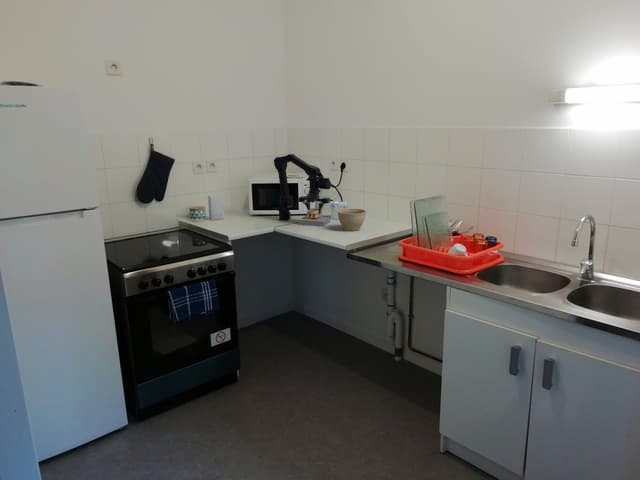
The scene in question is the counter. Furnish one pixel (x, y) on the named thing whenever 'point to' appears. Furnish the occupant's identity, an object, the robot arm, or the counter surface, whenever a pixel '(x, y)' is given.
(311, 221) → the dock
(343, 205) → the light bulb box
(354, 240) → the counter surface
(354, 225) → the planter bowl
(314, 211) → the pallet
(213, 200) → the skincare box
